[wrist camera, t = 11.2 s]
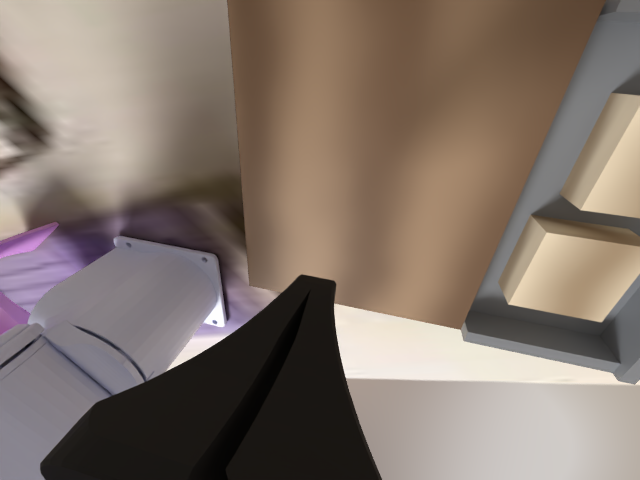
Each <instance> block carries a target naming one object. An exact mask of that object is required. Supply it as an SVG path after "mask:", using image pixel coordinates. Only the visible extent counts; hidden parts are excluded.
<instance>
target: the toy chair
mask: <svg viewBox="0 0 640 480" xmlns="http://www.w3.org/2000/svg"><path fill="white" fill-rule="evenodd" d="M58 226H59V224H58V223H57V222H53V223H50V224H47V225H44V226H41V227H38V228H35V229H32V230H30V231H27V232H24V233H21V234H18V235H15V236H13V237H10V238H7V239H5V240H2V241H0V258H2V257H5V256H9V255H13V254H18V253H23V252H29V251H33V250H35V249H36V248H37V247H38V246H39V245H40V244H41V243H42V242H43V241H44V240H45V239H46V238H47V237H48V236H49V235H50V234H51V233H52V232H53V231H54V230H55V229H56V228H57V227H58ZM29 316H30V313H29V312H27V311H26V310H24V309H23V308H21V307H20V306H18V305H17V304H15V303H14V302H12V301H11V300H10V299H8V298H7V297H6V296H5V295H4V294H3V293H2V292H0V335H1V334H3V333H4V332H6V331H8V330H9V329H11V328H12V327H14V326H16V325H18V324H27V323H28V319H29Z"/></svg>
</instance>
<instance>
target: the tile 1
mask: <svg viewBox="0 0 640 480" xmlns="http://www.w3.org/2000/svg"><path fill="white" fill-rule="evenodd" d="M639 274H640V236H638V235H637V234H635V233H634V232H632V231H631V230H629V229H625V228H618V227H612V226H605V225H598V224H591V223H584V222H577V221H570V220H564V219H557V218H550V217H543V216H536V215H530V217H529V219H528V221H527V223H526V225H525V227H524V229H523V231H522V233H521V235H520V237H519V239H518V241H517V243H516V246H515V248H514V250H513V252H512V254H511V256H510V258H509V260H508V262H507V264H506V266H505V268H504V270H503V272H502V275H501V277H500V279H499V281H498V283H499V286H500V288H501V290H502V292H503V294H504V296H505V298H506V300H507V303H508V304H509V305H514V306H519V307H524V308H529V309H535V310H540V311H545V312H550V313H555V314H560V315H566V316H571V317H576V318H581V319H586V320H592V321H597V322H602V321H603V320H604V319H605V317H606V316H607V315H608V314H609V312H610V311H611V310H612V308H613V307H614V306H615V305H616V303H617V302H618V301H619V300H620V298H621V297H622V296H623V294H624V293H625V292H626V291H627V289H628V288H629V287H630V286H631V284H632V283H633V282H634V280H635V279H636V278H637V277H638V275H639Z"/></svg>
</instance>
